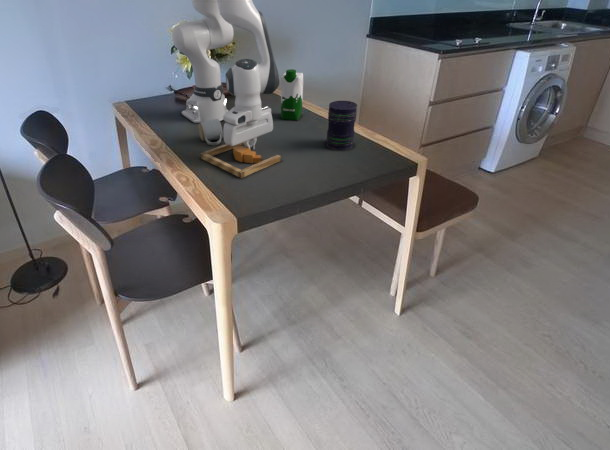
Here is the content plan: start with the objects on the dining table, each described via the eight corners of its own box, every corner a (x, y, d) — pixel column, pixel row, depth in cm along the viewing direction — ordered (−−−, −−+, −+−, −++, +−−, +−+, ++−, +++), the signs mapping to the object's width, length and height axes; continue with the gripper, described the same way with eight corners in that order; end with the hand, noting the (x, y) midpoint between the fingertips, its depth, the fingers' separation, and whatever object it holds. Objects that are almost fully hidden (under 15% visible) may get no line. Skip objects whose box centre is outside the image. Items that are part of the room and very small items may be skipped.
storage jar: (336, 152, 148) (340, 111, 139) (320, 143, 155) (323, 103, 147) (359, 146, 151) (363, 106, 143) (342, 137, 158) (345, 98, 150)
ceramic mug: (198, 137, 163) (196, 119, 159) (218, 134, 165) (216, 115, 161) (205, 148, 155) (203, 128, 151) (226, 144, 157) (225, 125, 153)
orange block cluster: (225, 155, 149) (225, 145, 147) (238, 150, 152) (237, 141, 150) (251, 167, 140) (251, 157, 138) (264, 161, 143) (263, 151, 141)
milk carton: (279, 119, 178) (278, 71, 166) (284, 113, 185) (284, 66, 173) (298, 121, 175) (300, 72, 164) (303, 114, 182) (305, 67, 171)
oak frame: (201, 158, 147) (200, 153, 146) (239, 144, 157) (239, 138, 156) (241, 178, 133) (240, 172, 132) (280, 161, 143) (280, 155, 142)
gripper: (264, 102, 146) (265, 139, 154) (219, 117, 135) (222, 156, 143) (277, 106, 142) (277, 144, 150) (231, 121, 131) (234, 161, 139)
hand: (250, 150), depth 146 cm, fingers closed
